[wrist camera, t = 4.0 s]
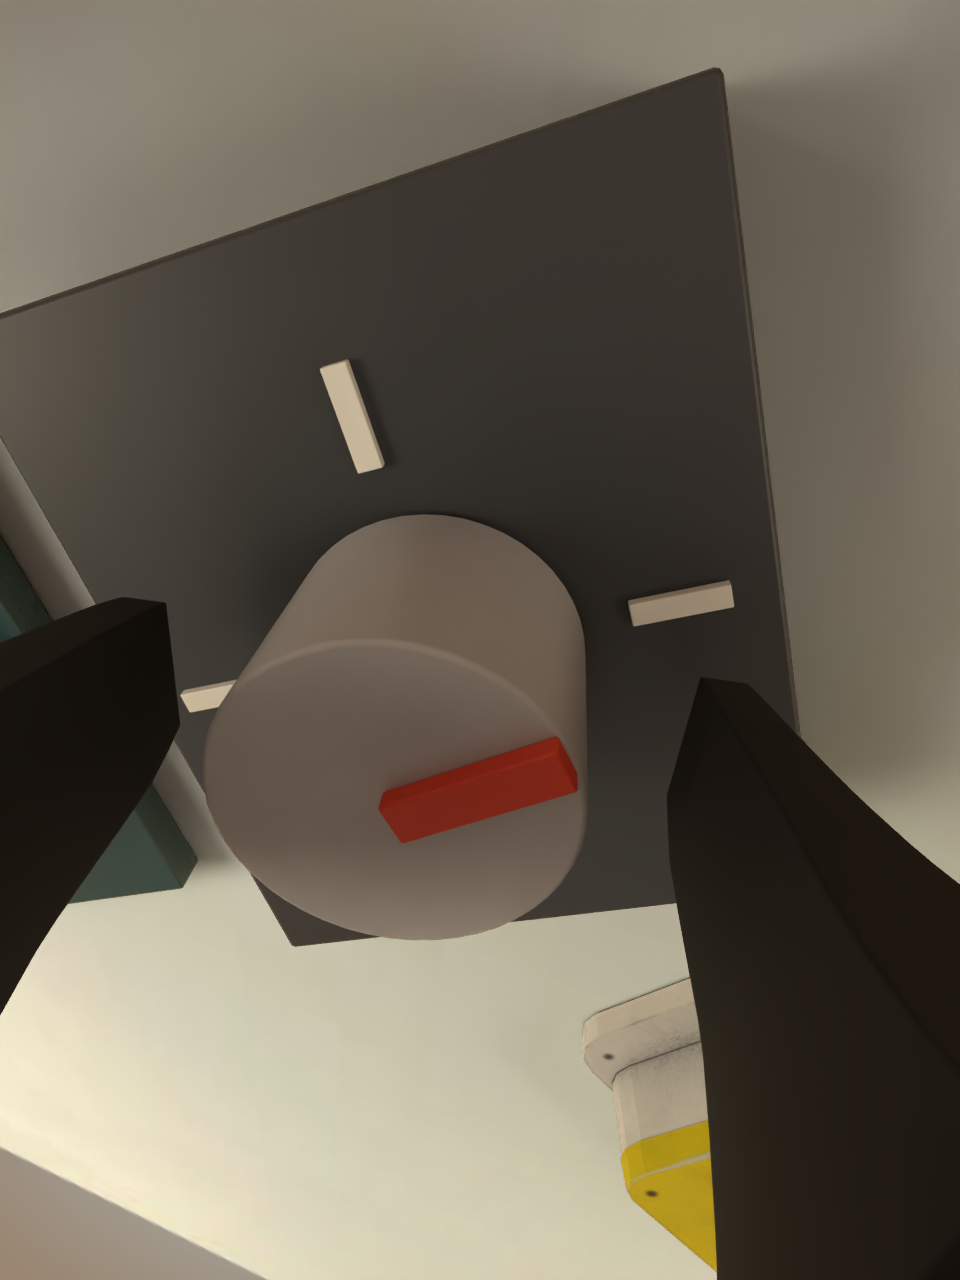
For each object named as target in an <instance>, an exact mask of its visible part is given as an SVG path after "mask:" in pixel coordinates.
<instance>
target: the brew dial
mask: <svg viewBox="0 0 960 1280" xmlns="http://www.w3.org/2000/svg"><path fill="white" fill-rule="evenodd" d="M202 774H203V787H204V791H205V796H206V800H207V805H208V807H209V810H210V812H211V815H212V818H213V820H214V823H215V825H216V826H217V828H218V830H219V832H220V834H221V836H222V837H223V839H224V841H225V842H226V844H227V845H228V846H229V848H230V849H231V851H232V852H233V853H234V855H235V856H236V857H237V858H238V860H239V861H240V862H241V863H242V864H243V865H244V866H245V867H246V868H247V869H248V870H249V872H250V873H251V874H253V875H254V876H255V877H256V878H257V879H258V880H259V881H261V882H262V883H263V884H264V885H265V886H266V887H267V888H269V889H270V890H272V891H273V892H274V893H276V894H277V895H279V896H280V897H281V898H283V899H284V900H286V901H287V902H289V903H291V904H293V905H294V906H296V907H298V908H299V909H301V910H303V911H305V912H307V913H309V914H311V915H313V916H315V917H318V918H320V919H322V920H324V921H327V922H329V923H332V924H335V925H338V926H340V927H343V928H346V929H350V930H354V931H357V932H361V933H365V934H369V935H375V936H380V937H386V938H394V939H405V940H440V939H450V938H458V937H463V936H468V935H473V934H478V933H481V932H484V931H487V930H491V929H494V928H497V927H499V926H501V925H504V924H506V923H508V922H511V921H513V920H515V919H517V918H519V917H520V916H522V915H524V914H525V913H527V912H529V911H530V910H532V909H533V908H535V907H536V906H537V905H539V904H540V903H541V902H542V901H544V900H545V899H546V898H547V897H548V896H549V895H550V894H551V893H552V892H553V891H554V890H555V889H556V888H557V887H558V886H559V885H560V884H561V882H562V881H563V880H564V878H565V877H566V875H567V874H568V872H569V871H570V869H571V868H572V866H573V865H574V863H575V861H576V858H577V856H578V854H579V852H580V850H581V848H582V844H583V841H584V837H585V833H586V830H587V819H588V764H587V713H586V661H585V642H584V634H583V629H582V625H581V621H580V618H579V615H578V612H577V610H576V607H575V605H574V602H573V600H572V599H571V597H570V595H569V593H568V592H567V590H566V588H565V586H564V585H563V584H562V582H561V581H560V580H559V578H558V577H557V576H556V574H555V573H554V572H553V570H552V569H551V568H550V567H549V566H548V565H547V564H546V563H545V562H544V561H543V560H542V559H541V558H540V557H539V556H537V555H536V554H535V553H533V552H532V551H531V550H530V549H528V548H527V547H526V546H524V545H523V544H522V543H520V542H518V541H517V540H515V539H513V538H511V537H510V536H508V535H506V534H505V533H503V532H500V531H498V530H496V529H493V528H491V527H489V526H486V525H484V524H480V523H477V522H474V521H470V520H467V519H463V518H457V517H451V516H445V515H425V514H421V515H409V516H400V517H395V518H391V519H386V520H382V521H379V522H376V523H373V524H371V525H368V526H365V527H363V528H361V529H359V530H357V531H355V532H353V533H351V534H349V535H348V536H346V537H344V538H343V539H342V540H340V541H339V542H338V543H336V544H335V545H334V546H332V547H331V548H330V549H329V550H328V551H327V552H326V553H325V554H324V555H323V556H322V557H321V558H320V559H319V560H318V561H317V563H316V564H315V565H314V567H313V568H312V570H311V571H310V572H309V574H308V575H307V577H306V578H305V579H304V581H303V582H302V584H301V585H300V587H299V588H298V590H297V591H296V593H295V594H294V596H293V597H292V599H291V600H290V602H289V603H288V605H287V606H286V608H285V609H284V611H283V612H282V614H281V615H280V617H279V618H278V620H277V621H276V622H275V624H274V625H273V627H272V628H271V630H270V631H269V633H268V634H267V636H266V637H265V639H264V640H263V642H262V643H261V645H260V646H259V648H258V649H257V651H256V652H255V654H254V655H253V657H252V658H251V660H250V661H249V662H248V664H247V665H246V667H245V668H244V670H243V671H242V673H241V674H240V676H239V677H238V679H237V680H236V682H235V683H234V685H233V686H232V688H231V689H230V691H229V692H228V694H227V695H226V697H225V698H224V700H223V701H222V702H221V704H220V705H219V707H218V709H217V711H216V713H215V715H214V717H213V719H212V721H211V723H210V725H209V729H208V732H207V735H206V739H205V742H204V749H203V758H202Z"/></svg>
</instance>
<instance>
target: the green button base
mask: <svg viewBox="0 0 960 1280" xmlns="http://www.w3.org/2000/svg"><path fill="white" fill-rule="evenodd" d="M50 622H52V620H51V619H50V617H49V615H48V614H47V612H46V610H45V609H44V607H43V606H42V604H41V602H40V601H39V599H38V597H37V596H36V594H35V592H34V591H33V589H32V587H31V586H30V584H29V583H28V581H27V579H26V578H25V576H24V574H23V573H22V571H21V569H20V568H19V566H18V565H17V563H16V561H15V560H14V558H13V556H12V555H11V553H10V551H9V550H8V548H7V547H6V545H5V543H4V542H3V540H2V538H1V537H0V642H3V641H5V640H8V639H10V638H13V637H15V636H18V635H20V634H23V633H25V632H28V631H30V630H33V629H35V628H38V627H40V626H43V625H45V624H48V623H50ZM196 863H197V858H196V856H195V855H194V853H193V851H192V850H191V848H190V847H189V845H188V843H187V842H186V840H185V838H184V837H183V835H182V833H181V832H180V830H179V829H178V827H177V825H176V824H175V822H174V820H173V819H172V817H171V815H170V814H169V812H168V810H167V809H166V807H165V806H164V804H163V802H162V801H161V799H160V797H159V796H158V794H157V792H156V791H155V789H154V788H153V786H152V784H151V785H150V786H149V788H148V789H147V791H146V792H145V794H144V795H143V797H142V798H141V800H140V801H139V803H138V804H137V806H136V807H135V809H134V810H133V812H132V813H131V814H130V816H129V817H128V819H127V820H126V822H125V823H124V825H123V826H122V827H121V829H120V830H119V832H118V833H117V835H116V836H115V837H114V839H113V840H112V842H111V843H110V845H109V846H108V847H107V849H106V850H105V852H104V853H103V854H102V856H101V857H100V859H99V860H98V861H97V863H96V864H95V866H94V867H93V869H92V870H91V871H90V873H89V874H88V876H87V877H86V878H85V880H84V881H83V883H82V884H81V886H80V887H79V888H78V890H77V891H76V893H75V894H74V895H73V897H72V898H71V900H70V901H69V903H68V904H71V903H78V902H85V901H92V900H100V899H107V898H114V897H122V896H129V895H136V894H143V893H151V892H158V891H165V890H173V889H180V888H183V887H184V885H185V883H186V881H187V879H188V878H189V876H190V874H191V872H192V870H193V869H194V867H195V865H196Z"/></svg>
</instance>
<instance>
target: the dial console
mask: <svg viewBox="0 0 960 1280" xmlns="http://www.w3.org/2000/svg"><path fill="white" fill-rule="evenodd" d="M0 438H1V439H2V441H3V443H4V445H5V446H6V448H7V450H8V452H9V453H10V455H11V457H12V459H13V460H14V462H15V464H16V466H17V467H18V469H19V471H20V473H21V474H22V476H23V478H24V480H25V481H26V483H27V485H28V486H29V488H30V490H31V492H32V493H33V495H34V497H35V499H36V500H37V502H38V504H39V506H40V507H41V509H42V511H43V513H44V514H45V516H46V518H47V520H48V521H49V523H50V525H51V527H52V528H53V530H54V532H55V534H56V535H57V537H58V539H59V541H60V542H61V544H62V546H63V547H64V549H65V551H66V553H67V554H68V556H69V558H70V560H71V561H72V563H73V565H74V567H75V568H76V570H77V572H78V574H79V575H80V577H81V579H82V581H83V582H84V584H85V586H86V588H87V589H88V591H89V593H90V595H91V596H92V598H93V600H94V601H95V603H96V605H97V604H100V603H103V602H106V601H109V600H112V599H116V598H120V597H129V598H136V599H143V600H150V601H158V602H165V603H166V606H167V614H168V623H169V631H170V640H171V648H172V657H173V665H174V674H175V682H176V691H177V699H178V708H179V717H180V727H179V729H178V731H177V733H176V735H175V737H174V741H175V743H176V744H177V746H178V748H179V750H180V751H181V753H182V755H183V757H184V758H185V760H186V762H187V764H188V765H189V767H190V769H191V771H192V772H193V774H194V776H195V778H196V779H197V781H198V783H199V784H200V786H201V788H202V790H203V791H204V787H203V774H202V758H203V749H204V742H205V739H206V735H207V732H208V729H209V725H210V723H211V721H212V719H213V717H214V715H215V713H216V711H217V709H218V707H219V705H220V704H221V702H222V701H223V700H224V698H225V697H226V695H227V694H228V692H229V691H230V689H231V688H232V686H233V685H234V683H235V682H236V680H237V679H238V677H239V676H240V674H241V673H242V671H243V670H244V668H245V667H246V665H247V664H248V662H249V661H250V660H251V658H252V657H253V655H254V654H255V652H256V651H257V649H258V648H259V646H260V645H261V643H262V642H263V640H264V639H265V637H266V636H267V634H268V633H269V631H270V630H271V628H272V627H273V625H274V624H275V622H276V621H277V620H278V618H279V617H280V615H281V614H282V612H283V611H284V609H285V608H286V606H287V605H288V603H289V602H290V600H291V599H292V597H293V596H294V594H295V593H296V591H297V590H298V588H299V587H300V585H301V584H302V582H303V581H304V579H305V578H306V577H307V575H308V574H309V572H310V571H311V570H312V568H313V567H314V565H315V564H316V563H317V561H318V560H319V559H320V558H321V557H322V556H323V555H324V554H325V553H326V552H327V551H328V550H329V549H330V548H331V547H332V546H334V545H335V544H336V543H338V542H339V541H340V540H342V539H343V538H344V537H346V536H348V535H349V534H351V533H353V532H355V531H357V530H359V529H361V528H363V527H365V526H368V525H371V524H373V523H376V522H379V521H382V520H386V519H391V518H395V517H400V516H409V515H421V514H425V515H445V516H451V517H457V518H463V519H467V520H470V521H474V522H477V523H480V524H484V525H486V526H489V527H491V528H493V529H496V530H498V531H500V532H503V533H505V534H506V535H508V536H510V537H511V538H513V539H515V540H517V541H518V542H520V543H522V544H523V545H524V546H526V547H527V548H528V549H530V550H531V551H532V552H533V553H535V554H536V555H537V556H539V557H540V558H541V559H542V560H543V561H544V562H545V563H546V564H547V565H548V566H549V567H550V568H551V569H552V570H553V572H554V573H555V574H556V576H557V577H558V578H559V580H560V581H561V582H562V584H563V585H564V586H565V588H566V590H567V592H568V593H569V595H570V597H571V599H572V600H573V602H574V605H575V607H576V610H577V612H578V615H579V618H580V621H581V625H582V629H583V634H584V642H585V661H586V713H587V764H588V819H587V830H586V833H585V837H584V841H583V844H582V848H581V850H580V852H579V854H578V856H577V858H576V861H575V863H574V865H573V866H572V868H571V869H570V871H569V872H568V874H567V875H566V877H565V878H564V880H563V881H562V882H561V884H560V885H559V886H558V887H557V888H556V889H555V890H554V891H553V892H552V893H551V894H550V895H549V896H548V897H547V898H546V899H545V900H544V901H542V902H541V903H540V904H539V905H537V906H536V907H535V908H533V909H532V910H530V911H529V912H527V913H525V914H524V915H522V916H520V917H519V918H517V919H515V920H513V921H511V922H516V921H524V920H533V919H542V918H551V917H559V916H568V915H577V914H586V913H594V912H603V911H612V910H621V909H629V908H638V907H647V906H656V905H664V904H673V903H676V897H675V891H674V886H673V880H672V874H671V868H670V861H669V843H668V820H667V793H668V789H669V786H670V782H671V779H672V775H673V772H674V768H675V765H676V761H677V758H678V754H679V751H680V747H681V744H682V740H683V737H684V733H685V730H686V726H687V723H688V719H689V716H690V712H691V709H692V705H693V702H694V698H695V695H696V691H697V688H698V684H699V681H700V677H705V678H712V679H720V680H727V681H734V682H741V683H748V684H749V685H750V686H751V687H752V688H753V689H754V690H755V691H756V692H757V693H758V694H759V695H760V696H761V697H762V698H763V699H764V700H765V701H766V702H767V703H768V704H769V705H770V706H771V707H772V708H773V709H774V710H775V711H776V713H777V714H778V715H779V716H780V717H781V718H782V719H783V720H784V721H785V722H786V723H787V724H788V725H789V726H790V727H791V728H792V730H793V731H794V732H795V733H796V734H797V735H798V736H799V737H800V738H801V735H800V726H799V718H798V709H797V701H796V692H795V683H794V675H793V666H792V658H791V649H790V640H789V632H788V623H787V615H786V606H785V597H784V589H783V580H782V572H781V563H780V555H779V546H778V537H777V529H776V520H775V512H774V503H773V494H772V486H771V477H770V469H769V460H768V451H767V443H766V434H765V426H764V417H763V409H762V400H761V391H760V383H759V374H758V366H757V357H756V348H755V340H754V331H753V323H752V314H751V305H750V297H749V288H748V280H747V271H746V262H745V254H744V245H743V237H742V228H741V220H740V211H739V202H738V194H737V185H736V177H735V168H734V159H733V151H732V142H731V134H730V125H729V116H728V108H727V99H726V91H725V82H724V74H723V72H722V71H721V69H720V68H711V69H708V70H705V71H702V72H699V73H696V74H693V75H690V76H688V77H685V78H682V79H679V80H676V81H673V82H670V83H667V84H664V85H661V86H659V87H656V88H653V89H650V90H647V91H644V92H641V93H638V94H635V95H632V96H630V97H627V98H624V99H621V100H618V101H615V102H612V103H609V104H606V105H603V106H601V107H598V108H595V109H592V110H589V111H586V112H583V113H580V114H577V115H574V116H571V117H569V118H566V119H563V120H560V121H557V122H554V123H551V124H548V125H545V126H542V127H540V128H537V129H534V130H531V131H528V132H525V133H522V134H519V135H516V136H513V137H511V138H508V139H505V140H502V141H499V142H496V143H493V144H490V145H487V146H484V147H482V148H479V149H476V150H473V151H470V152H467V153H464V154H461V155H458V156H455V157H453V158H450V159H447V160H444V161H441V162H438V163H435V164H432V165H429V166H426V167H424V168H421V169H418V170H415V171H412V172H409V173H406V174H403V175H400V176H397V177H395V178H392V179H389V180H386V181H383V182H380V183H377V184H374V185H371V186H368V187H366V188H363V189H360V190H357V191H354V192H351V193H348V194H345V195H342V196H339V197H336V198H334V199H331V200H328V201H325V202H322V203H319V204H316V205H313V206H310V207H307V208H305V209H302V210H299V211H296V212H293V213H290V214H287V215H284V216H281V217H278V218H276V219H273V220H270V221H267V222H264V223H261V224H258V225H255V226H252V227H249V228H247V229H244V230H241V231H238V232H235V233H232V234H229V235H226V236H223V237H220V238H218V239H215V240H212V241H209V242H206V243H203V244H200V245H197V246H194V247H191V248H189V249H186V250H183V251H180V252H177V253H174V254H171V255H168V256H165V257H162V258H160V259H157V260H154V261H151V262H148V263H145V264H142V265H139V266H136V267H133V268H130V269H128V270H125V271H122V272H119V273H116V274H113V275H110V276H107V277H104V278H101V279H99V280H96V281H93V282H90V283H87V284H84V285H81V286H78V287H75V288H72V289H70V290H67V291H64V292H61V293H58V294H55V295H52V296H49V297H46V298H43V299H41V300H38V301H35V302H32V303H29V304H26V305H23V306H20V307H17V308H14V309H12V310H9V311H6V312H3V313H0ZM204 793H205V791H204ZM251 875H252V877H253V879H254V880H255V882H256V884H257V886H258V887H259V889H260V891H261V893H262V894H263V896H264V898H265V899H266V901H267V903H268V905H269V906H270V908H271V910H272V912H273V913H274V915H275V917H276V919H277V920H278V922H279V924H280V926H281V927H282V929H283V931H284V933H285V934H286V936H287V938H288V940H289V941H290V943H291V945H292V946H295V947H297V946H305V945H314V944H323V943H332V942H340V941H349V940H358V939H367V938H375V937H380V936H375V935H369V934H365V933H361V932H357V931H354V930H350V929H346V928H343V927H340V926H338V925H335V924H332V923H329V922H327V921H324V920H322V919H320V918H318V917H315V916H313V915H311V914H309V913H307V912H305V911H303V910H301V909H299V908H298V907H296V906H294V905H293V904H291V903H289V902H287V901H286V900H284V899H283V898H281V897H280V896H279V895H277V894H276V893H274V892H273V891H272V890H270V889H269V888H267V887H266V886H265V885H264V884H263V883H262V882H261V881H259V880H258V879H257V878H256V877H255V876H254V875H253V874H251Z"/></svg>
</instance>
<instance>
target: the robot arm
mask: <svg viewBox="0 0 960 1280" xmlns="http://www.w3.org/2000/svg"><path fill="white" fill-rule="evenodd" d="M179 727H180V717H179V708H178V699H177V691H176V682H175V674H174V665H173V657H172V648H171V640H170V631H169V623H168V614H167V606H166V603H165V602H158V601H150V600H143V599H136V598H129V597H120V598H116V599H112V600H109V601H106V602H103V603H100V604H97V605H94V606H91V607H88V608H86V609H83V610H80V611H78V612H75V613H73V614H70V615H68V616H65V617H62V618H60V619H57V620H55V621H52V622H50V623H48V624H45V625H43V626H40V627H38V628H35V629H33V630H30V631H28V632H25V633H23V634H20V635H18V636H15V637H13V638H10V639H8V640H5V641H3V642H0V1015H1V1013H2V1011H3V1009H4V1008H5V1006H6V1004H7V1002H8V1001H9V999H10V997H11V995H12V993H13V992H14V990H15V988H16V986H17V984H18V983H19V981H20V979H21V977H22V976H23V974H24V972H25V970H26V968H27V967H28V965H29V963H30V961H31V959H32V958H33V956H34V954H35V952H36V951H37V949H38V948H39V946H40V944H41V943H42V941H43V940H44V938H45V937H46V935H47V934H48V932H49V930H50V929H51V927H52V926H53V924H54V923H55V921H56V920H57V918H58V917H59V915H60V914H61V912H62V911H63V910H64V908H65V907H66V905H67V904H68V903H69V901H70V900H71V898H72V897H73V895H74V894H75V893H76V891H77V890H78V888H79V887H80V886H81V884H82V883H83V881H84V880H85V878H86V877H87V876H88V874H89V873H90V871H91V870H92V869H93V867H94V866H95V864H96V863H97V861H98V860H99V859H100V857H101V856H102V854H103V853H104V852H105V850H106V849H107V847H108V846H109V845H110V843H111V842H112V840H113V839H114V837H115V836H116V835H117V833H118V832H119V830H120V829H121V827H122V826H123V825H124V823H125V822H126V820H127V819H128V817H129V816H130V814H131V813H132V812H133V810H134V809H135V807H136V806H137V804H138V803H139V801H140V800H141V798H142V797H143V795H144V794H145V792H146V791H147V789H148V788H149V786H150V785H151V783H152V781H153V779H154V777H155V775H156V774H157V772H158V770H159V768H160V766H161V764H162V762H163V760H164V758H165V756H166V754H167V752H168V750H169V748H170V746H171V744H172V742H173V740H174V737H175V735H176V733H177V731H178V729H179ZM667 820H668V843H669V861H670V868H671V874H672V880H673V886H674V891H675V897H676V903H677V908H678V914H679V920H680V925H681V931H682V936H683V942H684V947H685V952H686V958H687V963H688V969H689V974H690V980H691V985H692V991H693V996H694V1002H695V1007H696V1013H697V1018H698V1025H699V1032H700V1039H701V1046H702V1054H703V1064H704V1076H705V1089H706V1102H707V1114H708V1127H709V1140H710V1156H711V1172H712V1188H713V1205H714V1221H715V1239H716V1262H717V1280H960V884H959V883H957V882H956V881H955V880H954V879H952V878H951V877H950V876H948V875H947V874H946V873H945V872H943V871H942V870H941V869H940V868H938V867H937V866H936V865H934V864H933V863H932V862H931V861H930V860H928V859H927V858H926V857H925V856H924V855H923V854H921V853H920V852H919V851H918V850H917V849H915V848H914V847H913V846H912V845H911V844H910V843H908V842H907V841H906V840H905V839H904V838H903V837H902V836H901V835H900V834H898V833H897V832H896V831H895V830H894V829H893V828H892V827H891V826H890V825H889V824H887V823H886V822H885V821H884V820H883V819H882V818H881V817H880V816H879V815H877V814H876V813H875V812H874V811H873V810H872V809H871V808H870V807H869V806H868V805H867V804H866V803H864V802H863V801H862V800H861V799H860V798H859V797H858V796H857V795H856V794H855V793H854V792H853V791H852V790H851V789H850V788H849V787H848V786H847V785H846V784H845V783H844V782H843V781H842V780H841V779H840V778H839V777H838V776H837V775H836V774H835V773H834V772H833V771H832V770H831V769H830V768H829V767H828V766H827V765H826V764H825V763H824V762H823V761H822V760H821V759H820V758H819V757H818V756H817V755H816V754H815V753H814V752H813V751H812V750H811V749H810V748H809V746H808V745H807V744H806V743H805V742H804V741H803V740H802V739H801V738H800V737H799V736H798V735H797V734H796V733H795V732H794V731H793V730H792V728H791V727H790V726H789V725H788V724H787V723H786V722H785V721H784V720H783V719H782V718H781V717H780V716H779V715H778V714H777V713H776V711H775V710H774V709H773V708H772V707H771V706H770V705H769V704H768V703H767V702H766V701H765V700H764V699H763V698H762V697H761V696H760V695H759V694H758V693H757V692H756V691H755V690H754V689H753V688H752V687H751V686H750V685H749V684H748V683H741V682H734V681H727V680H720V679H712V678H705V677H700V681H699V684H698V688H697V691H696V695H695V698H694V702H693V705H692V709H691V712H690V716H689V719H688V723H687V726H686V730H685V733H684V737H683V740H682V744H681V747H680V751H679V754H678V758H677V761H676V765H675V768H674V772H673V775H672V779H671V782H670V786H669V789H668V793H667Z"/></svg>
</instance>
